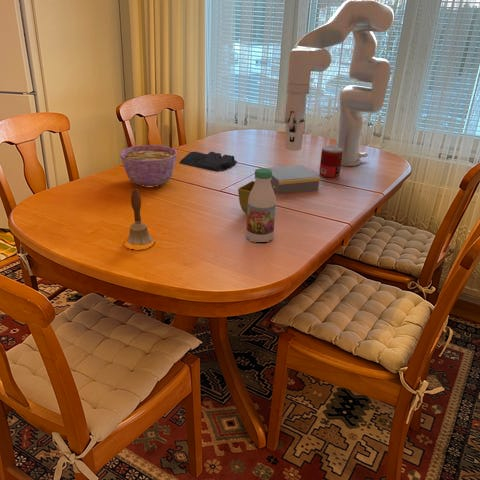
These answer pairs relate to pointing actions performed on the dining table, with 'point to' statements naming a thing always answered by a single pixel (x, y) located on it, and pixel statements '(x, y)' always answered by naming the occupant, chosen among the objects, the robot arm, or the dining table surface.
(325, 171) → the canned food
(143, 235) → the hand bell
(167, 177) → the bowl of food
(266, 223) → the milk bottle
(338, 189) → the dining table surface
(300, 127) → the white cup
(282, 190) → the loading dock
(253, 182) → the flower pot
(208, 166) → the dark slate chunk
